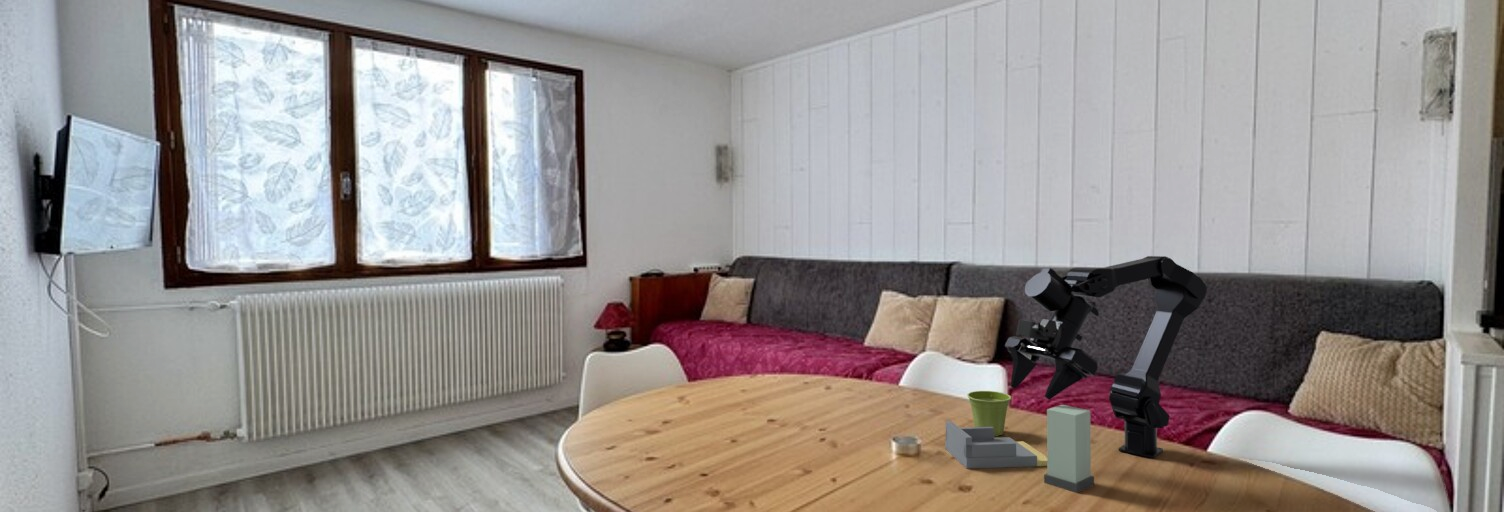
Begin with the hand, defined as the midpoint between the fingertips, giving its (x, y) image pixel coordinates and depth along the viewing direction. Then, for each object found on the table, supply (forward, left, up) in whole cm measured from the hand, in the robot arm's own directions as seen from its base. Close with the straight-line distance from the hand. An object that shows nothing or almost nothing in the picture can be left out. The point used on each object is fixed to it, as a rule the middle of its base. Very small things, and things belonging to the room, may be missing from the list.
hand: (1029, 392), depth 124 cm
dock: (-2, -8, -15) cm, 17 cm away
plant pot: (-16, -17, -15) cm, 27 cm away
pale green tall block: (+2, +8, -15) cm, 17 cm away
